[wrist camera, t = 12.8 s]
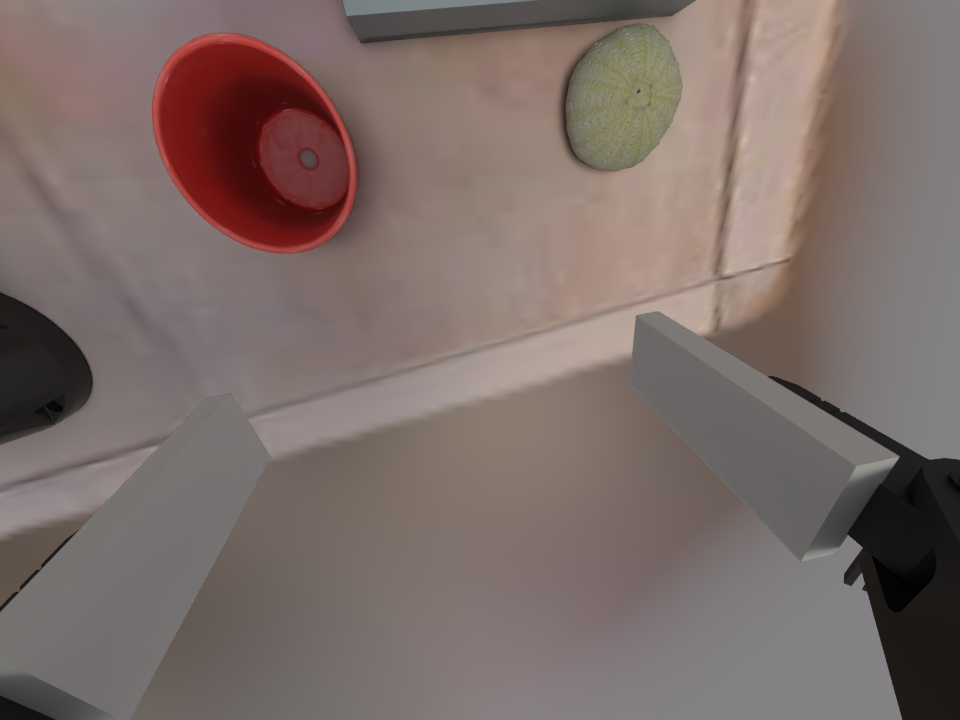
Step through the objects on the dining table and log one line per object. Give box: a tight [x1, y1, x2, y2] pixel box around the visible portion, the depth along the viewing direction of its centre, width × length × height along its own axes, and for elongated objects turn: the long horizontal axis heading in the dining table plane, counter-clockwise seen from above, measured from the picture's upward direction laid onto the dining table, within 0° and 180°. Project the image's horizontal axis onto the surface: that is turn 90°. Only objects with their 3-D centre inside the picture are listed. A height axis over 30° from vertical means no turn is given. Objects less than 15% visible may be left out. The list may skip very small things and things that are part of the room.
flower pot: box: [152, 33, 359, 254], centre depth 24 cm, size 11×11×10 cm
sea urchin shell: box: [565, 23, 683, 171], centre depth 27 cm, size 9×8×8 cm
